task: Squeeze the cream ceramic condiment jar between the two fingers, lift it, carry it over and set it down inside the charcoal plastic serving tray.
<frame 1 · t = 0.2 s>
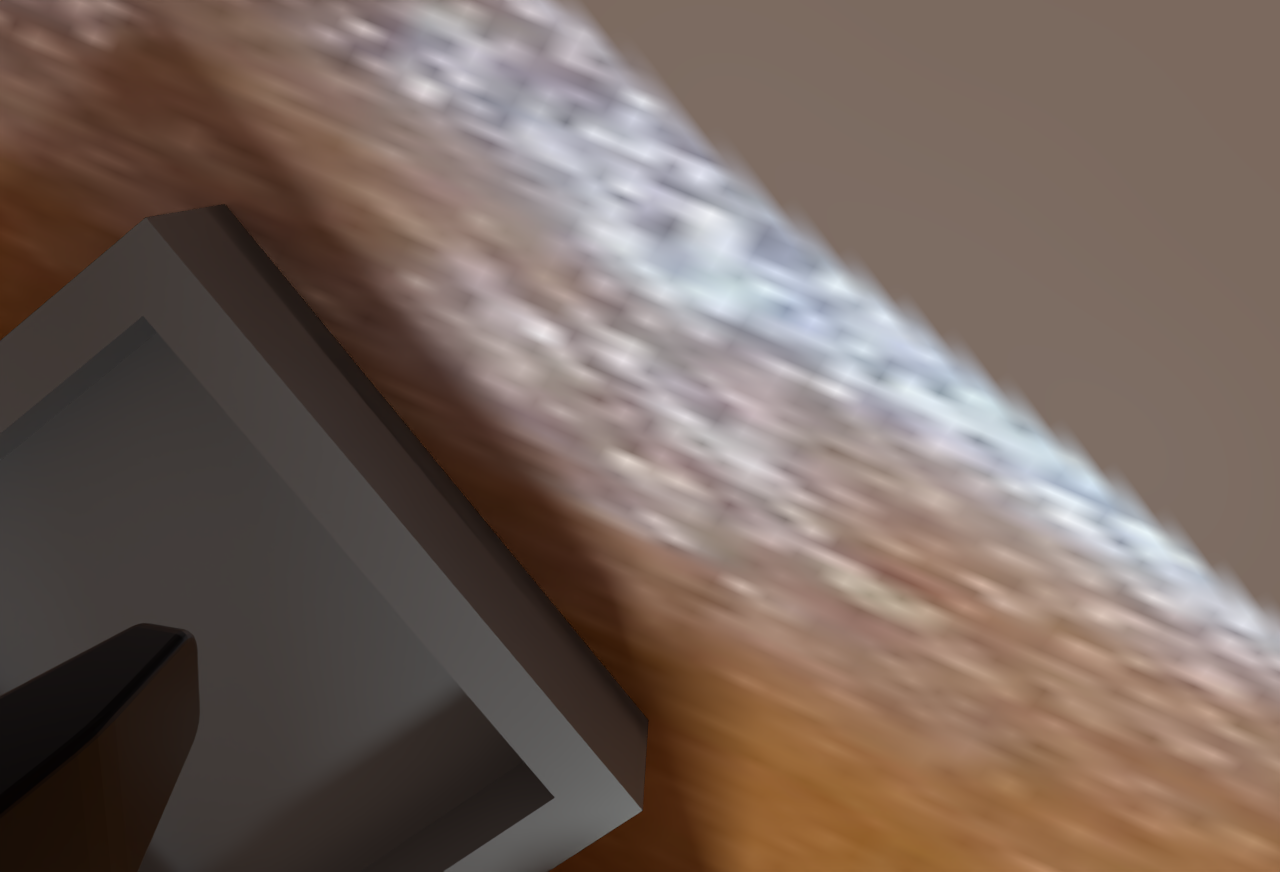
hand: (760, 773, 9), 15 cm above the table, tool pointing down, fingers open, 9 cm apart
serving tray: (220, 643, 26), on the table
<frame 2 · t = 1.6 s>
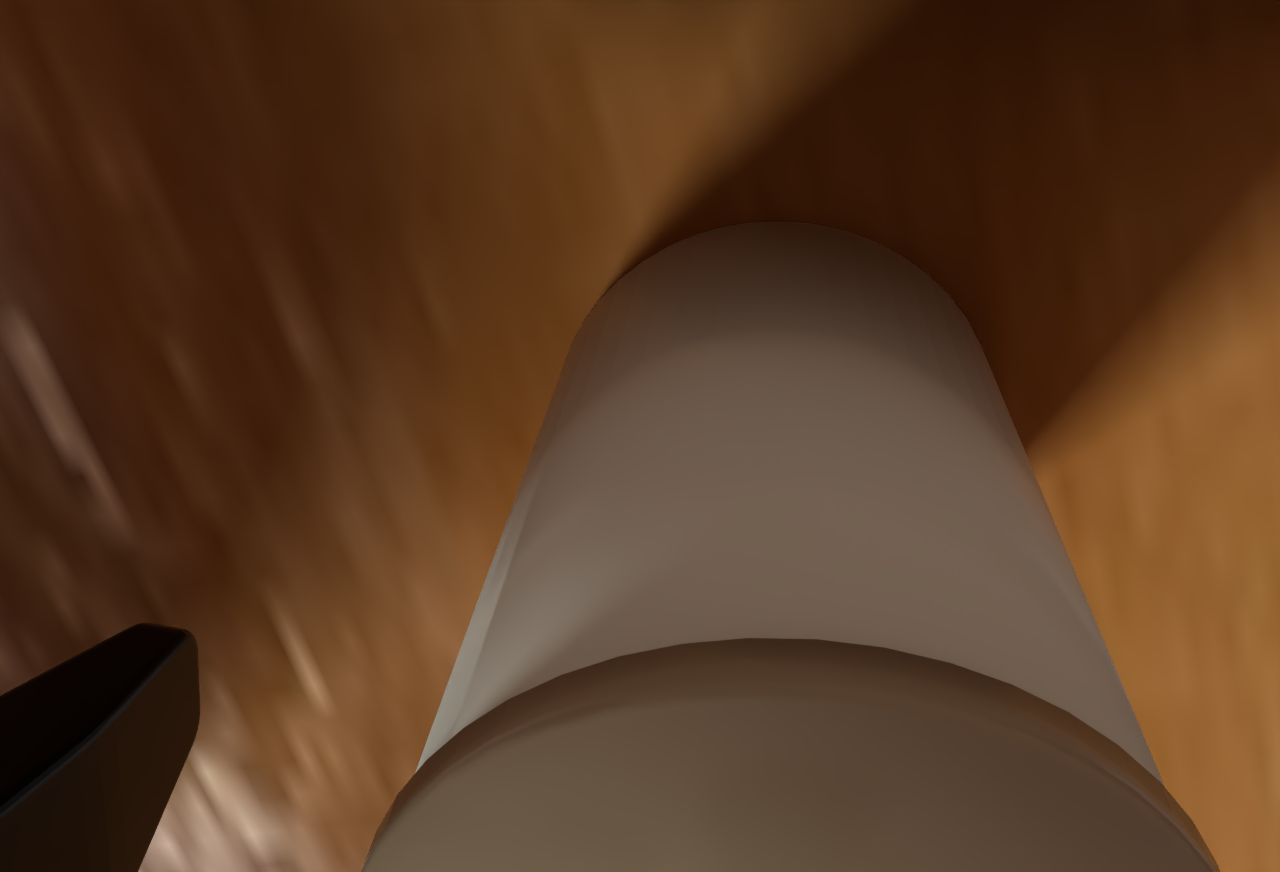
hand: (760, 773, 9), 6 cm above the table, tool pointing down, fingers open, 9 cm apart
cream jar: (771, 431, 14), on the table
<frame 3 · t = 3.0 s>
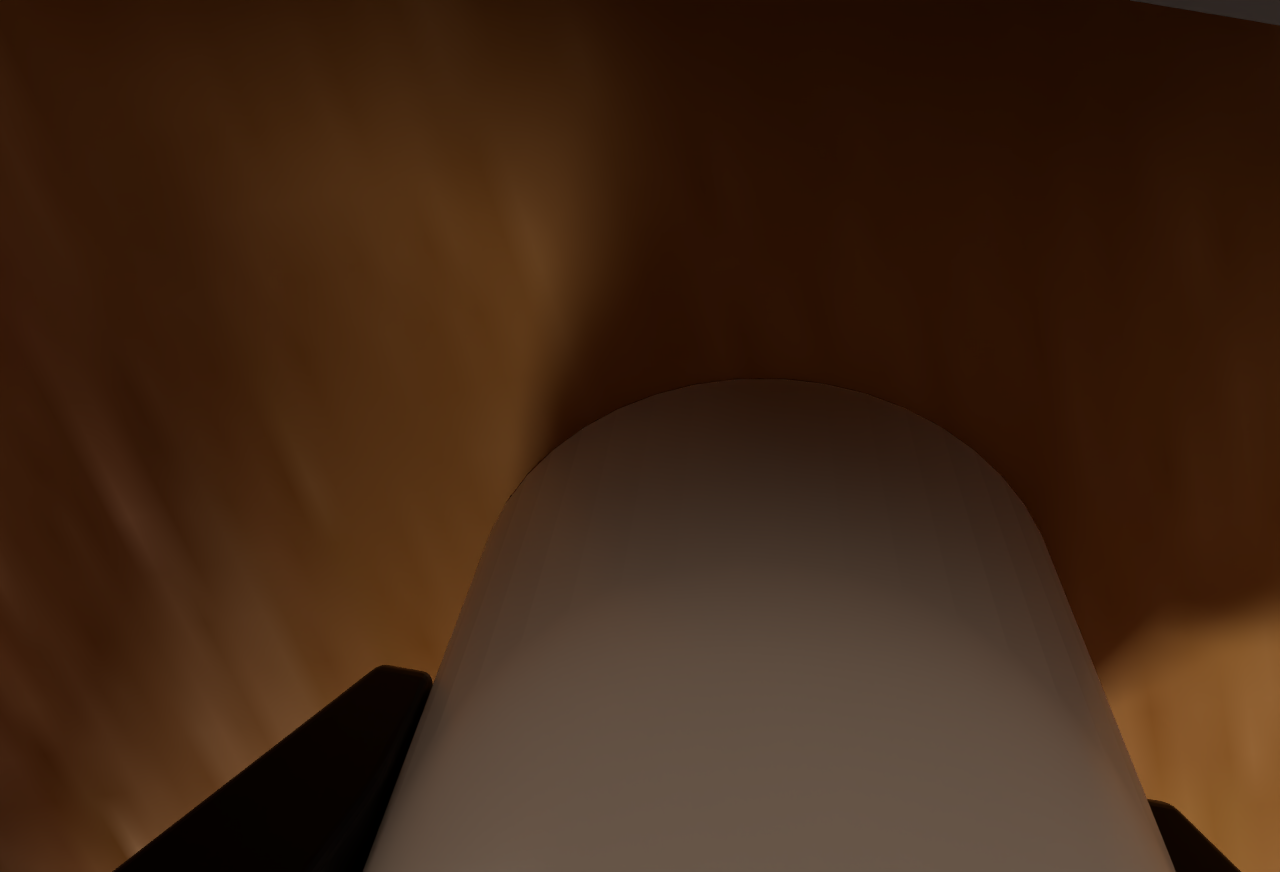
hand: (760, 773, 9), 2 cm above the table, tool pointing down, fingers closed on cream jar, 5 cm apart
cream jar: (759, 641, 10), on the table, touching gripper
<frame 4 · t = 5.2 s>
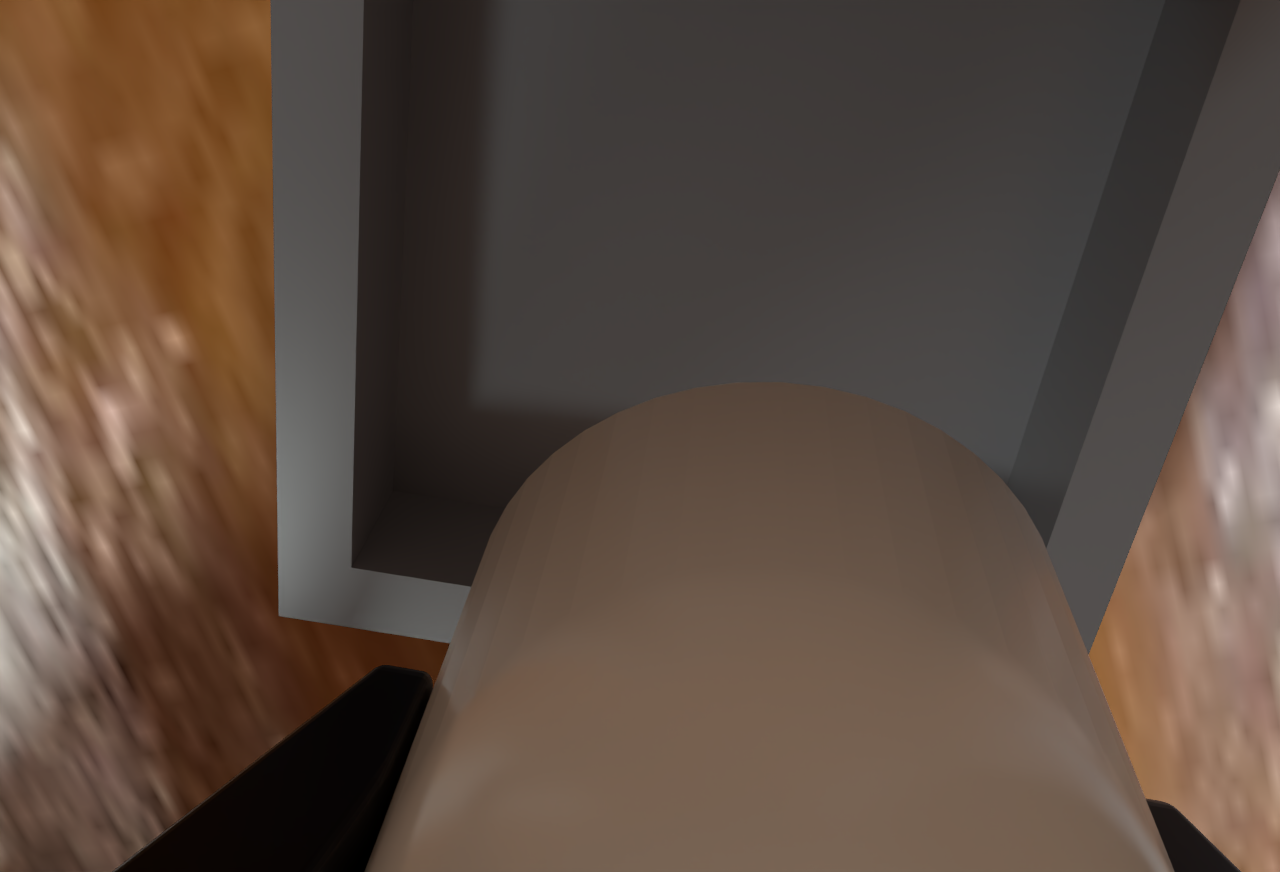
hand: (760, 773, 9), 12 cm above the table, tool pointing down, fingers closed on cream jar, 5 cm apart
serving tray: (739, 208, 19), on the table
cream jar: (760, 644, 10), point 10 cm above the table, touching gripper
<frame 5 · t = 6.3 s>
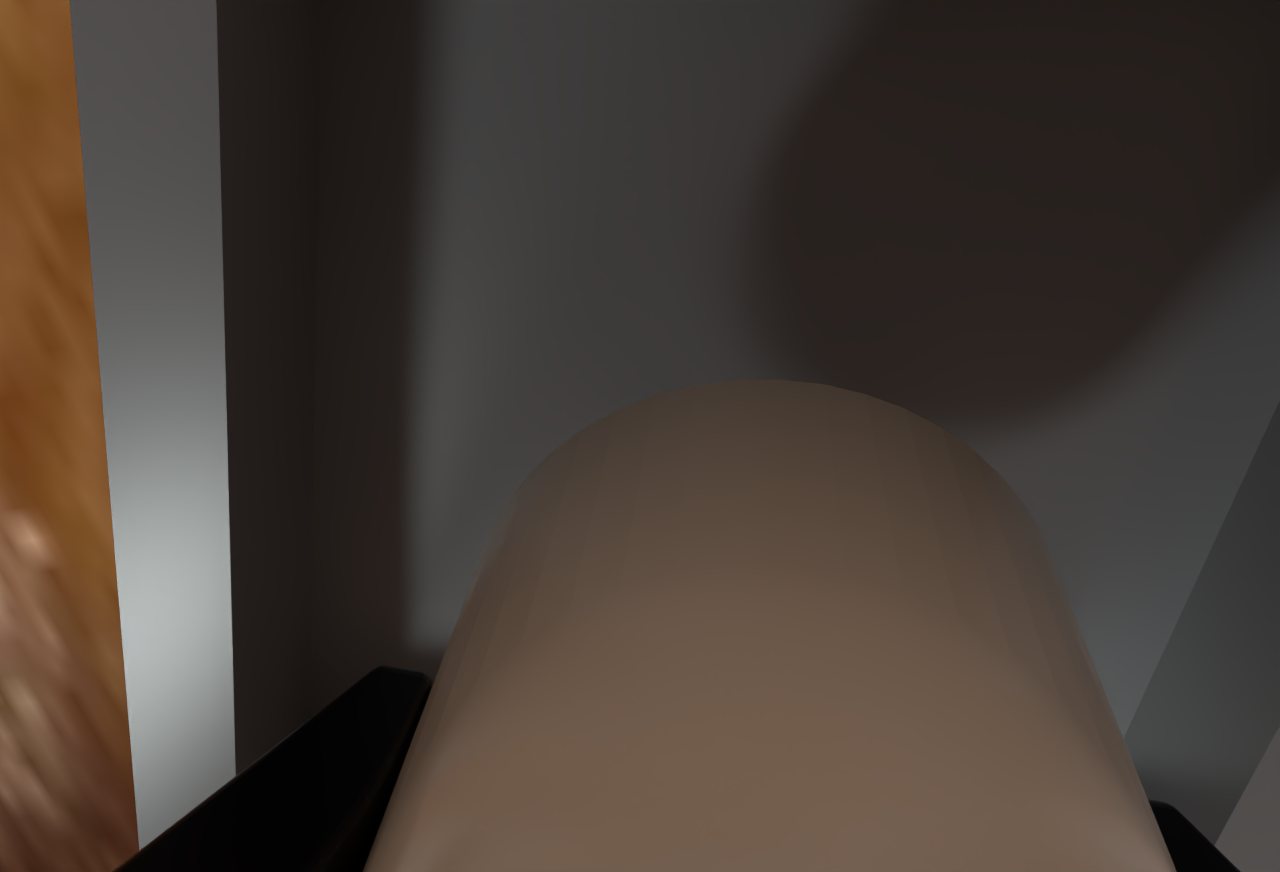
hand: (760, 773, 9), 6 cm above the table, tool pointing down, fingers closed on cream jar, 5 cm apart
serving tray: (765, 411, 14), on the table
cream jar: (760, 642, 10), point 4 cm above the table, touching gripper
when the fingers open (5 cm above the table, at t = 7.4 s): cream jar drops 2 cm, resting on serving tray.
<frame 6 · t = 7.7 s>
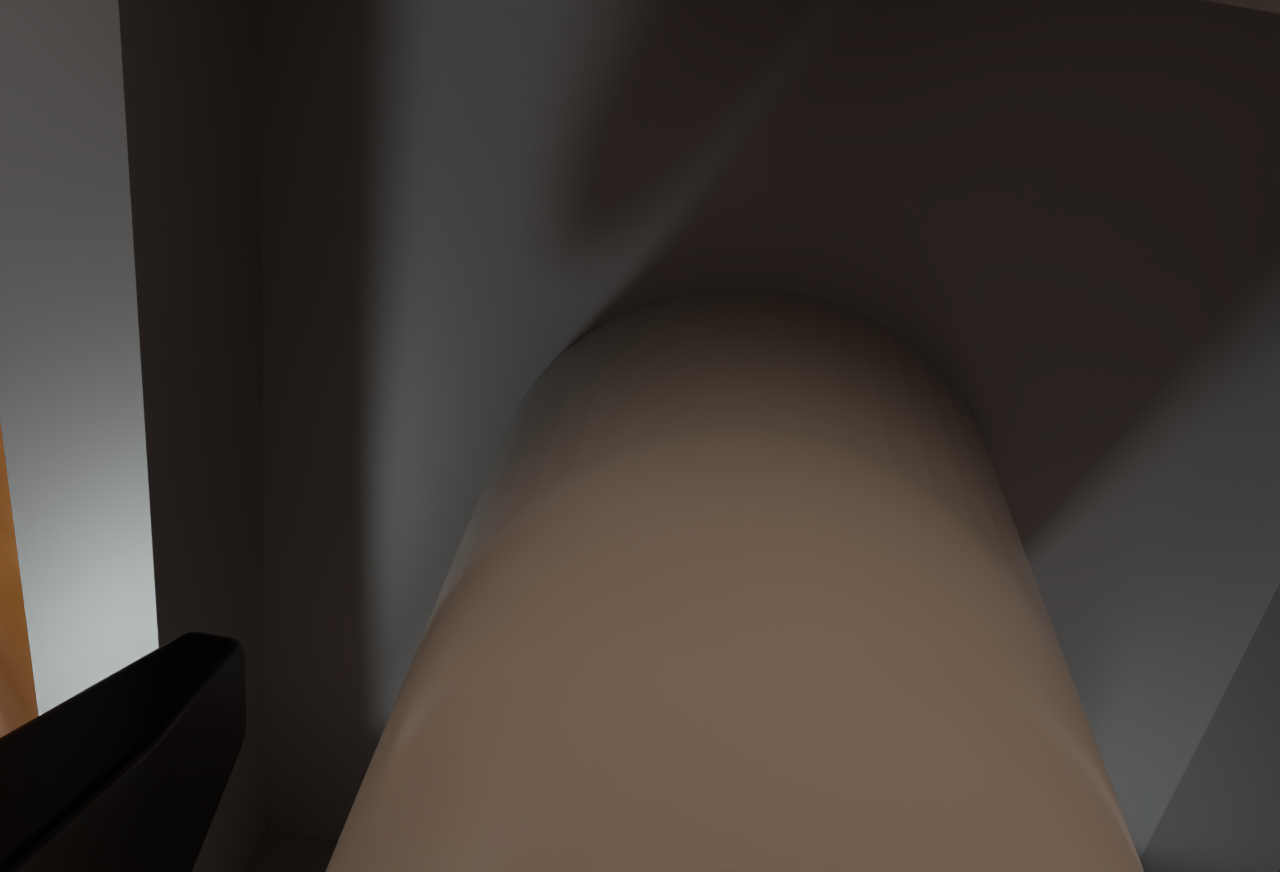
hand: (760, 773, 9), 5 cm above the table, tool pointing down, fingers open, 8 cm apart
serving tray: (761, 476, 13), on the table
cream jar: (739, 523, 12), point 1 cm above the table, touching serving tray
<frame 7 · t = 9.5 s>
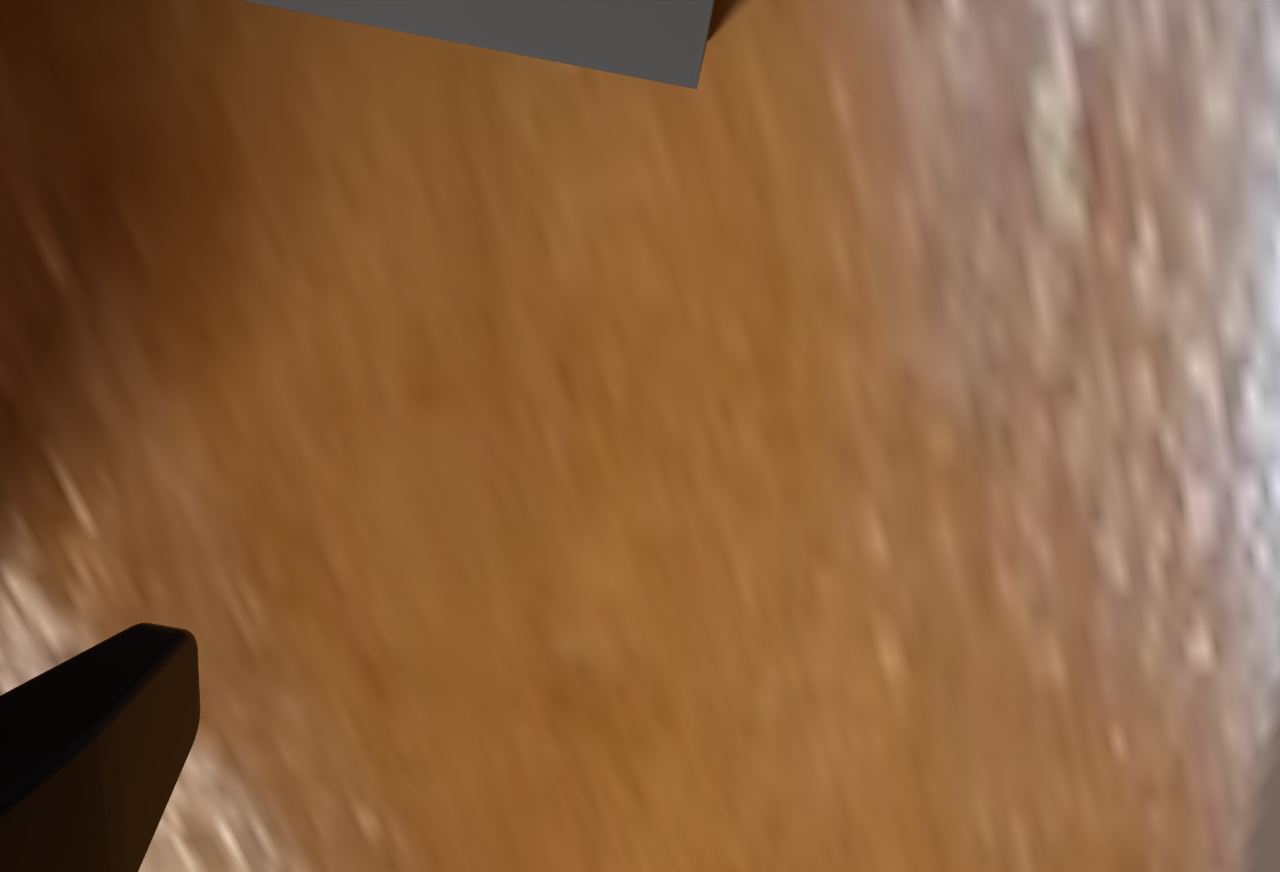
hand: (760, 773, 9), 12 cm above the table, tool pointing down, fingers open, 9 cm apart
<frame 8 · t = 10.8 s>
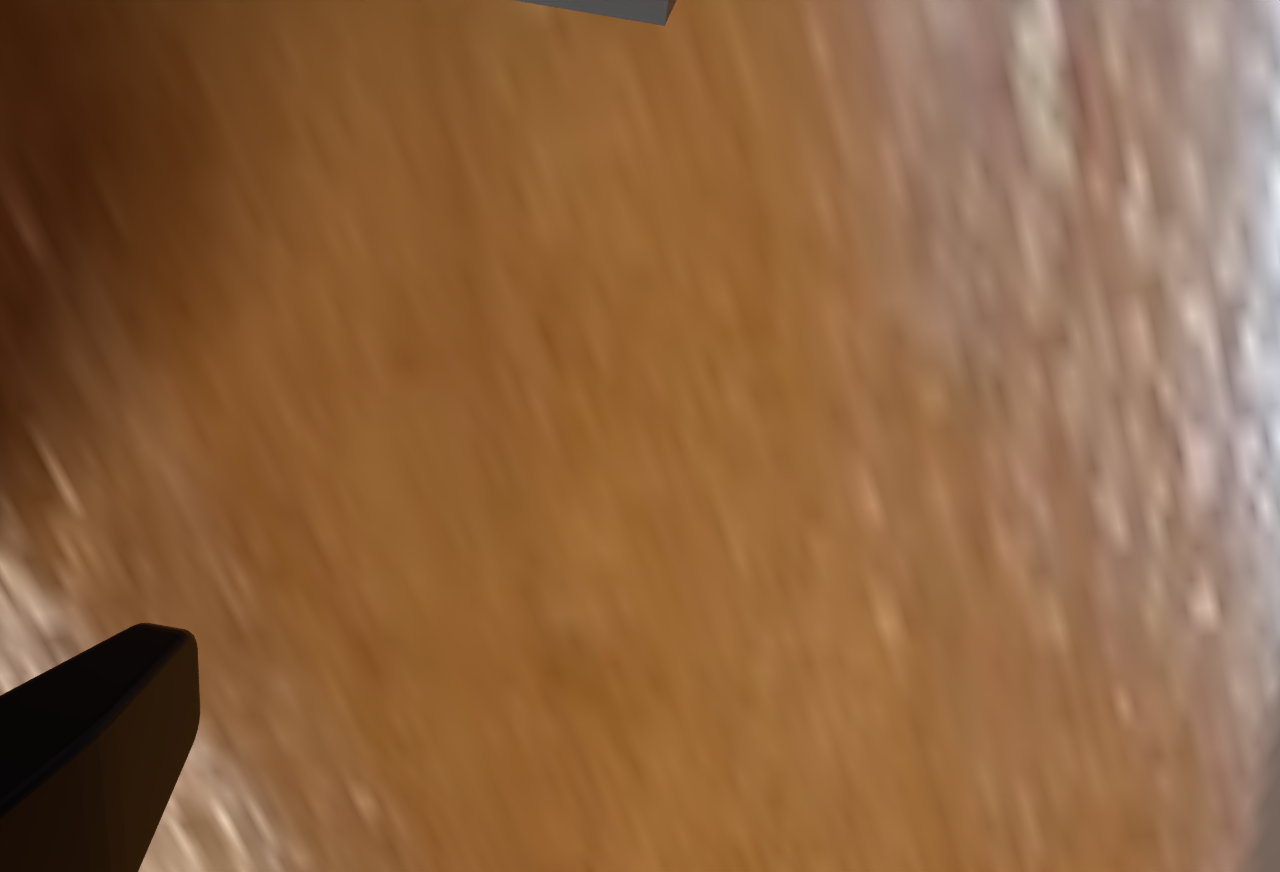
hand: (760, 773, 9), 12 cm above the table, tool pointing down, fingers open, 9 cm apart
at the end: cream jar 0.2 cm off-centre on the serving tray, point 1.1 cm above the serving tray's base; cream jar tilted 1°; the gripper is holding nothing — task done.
